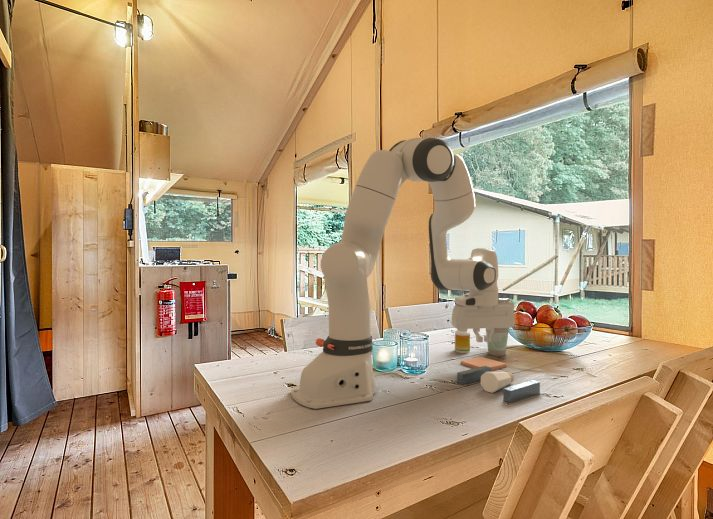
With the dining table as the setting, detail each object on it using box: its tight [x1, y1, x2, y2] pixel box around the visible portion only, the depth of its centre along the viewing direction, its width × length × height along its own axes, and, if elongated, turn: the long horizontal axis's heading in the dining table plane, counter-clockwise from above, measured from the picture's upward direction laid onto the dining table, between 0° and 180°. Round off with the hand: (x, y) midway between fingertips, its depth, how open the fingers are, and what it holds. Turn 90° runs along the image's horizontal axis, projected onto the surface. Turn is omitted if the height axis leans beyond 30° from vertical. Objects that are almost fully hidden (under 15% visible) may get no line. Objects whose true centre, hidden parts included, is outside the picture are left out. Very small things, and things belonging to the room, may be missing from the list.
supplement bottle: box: [454, 329, 471, 354], centre depth 142 cm, size 5×5×10 cm
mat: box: [459, 356, 507, 372], centre depth 124 cm, size 10×10×1 cm
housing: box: [456, 366, 541, 404], centre depth 103 cm, size 12×17×3 cm
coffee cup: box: [485, 328, 510, 357], centre depth 139 cm, size 9×8×12 cm
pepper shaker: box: [480, 371, 515, 394], centre depth 104 cm, size 5×5×11 cm
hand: (483, 341), depth 124 cm, fingers closed
